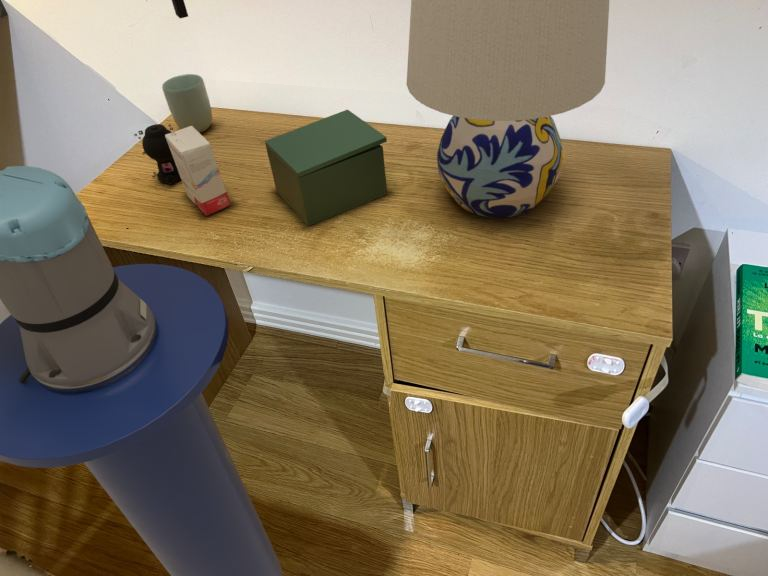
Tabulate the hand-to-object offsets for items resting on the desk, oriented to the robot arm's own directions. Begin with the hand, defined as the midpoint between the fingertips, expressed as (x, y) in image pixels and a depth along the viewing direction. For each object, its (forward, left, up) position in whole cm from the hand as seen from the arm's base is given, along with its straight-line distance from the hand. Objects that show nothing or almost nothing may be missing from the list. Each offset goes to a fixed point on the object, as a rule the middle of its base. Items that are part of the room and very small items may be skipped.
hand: (182, 15), depth 103 cm
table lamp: (+30, -51, -23) cm, 63 cm away
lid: (+9, -34, -14) cm, 37 cm away
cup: (-3, +5, -23) cm, 24 cm away
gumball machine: (-13, -11, -23) cm, 28 cm away
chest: (+8, -34, -23) cm, 42 cm away
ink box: (-10, -23, -23) cm, 34 cm away
